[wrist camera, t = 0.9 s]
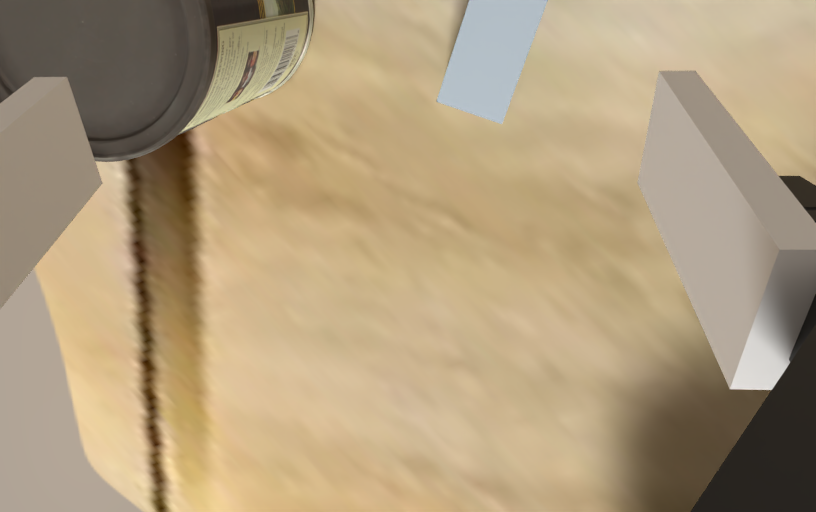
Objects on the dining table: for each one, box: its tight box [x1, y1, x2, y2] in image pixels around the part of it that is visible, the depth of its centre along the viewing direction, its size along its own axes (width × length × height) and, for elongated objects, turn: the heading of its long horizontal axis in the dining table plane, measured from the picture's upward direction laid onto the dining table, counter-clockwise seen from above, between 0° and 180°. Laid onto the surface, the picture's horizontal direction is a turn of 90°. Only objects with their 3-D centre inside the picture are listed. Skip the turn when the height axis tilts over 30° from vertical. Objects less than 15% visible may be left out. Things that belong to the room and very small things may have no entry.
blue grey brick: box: [437, 0, 548, 124], centre depth 35 cm, size 7×4×4 cm, turn 163°
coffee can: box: [0, 0, 314, 162], centre depth 32 cm, size 10×10×14 cm
